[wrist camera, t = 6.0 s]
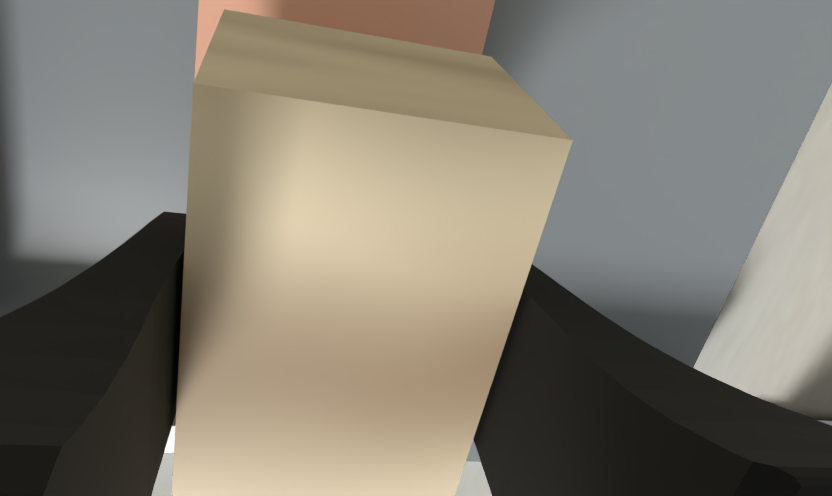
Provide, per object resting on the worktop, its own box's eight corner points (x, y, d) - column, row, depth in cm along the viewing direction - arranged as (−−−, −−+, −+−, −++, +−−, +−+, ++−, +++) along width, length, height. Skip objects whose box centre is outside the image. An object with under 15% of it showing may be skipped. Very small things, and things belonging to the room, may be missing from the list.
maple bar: (402, 403, 16) (433, 558, 12) (196, 393, 14) (168, 560, 11) (491, 56, 12) (572, 140, 8) (223, 9, 11) (192, 83, 7)
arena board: (944, -195, 15) (1119, -211, 12) (670, 383, 22) (732, 468, 19) (-126, -542, 10) (-314, -726, 7) (-26, 340, 17) (-95, 444, 14)
